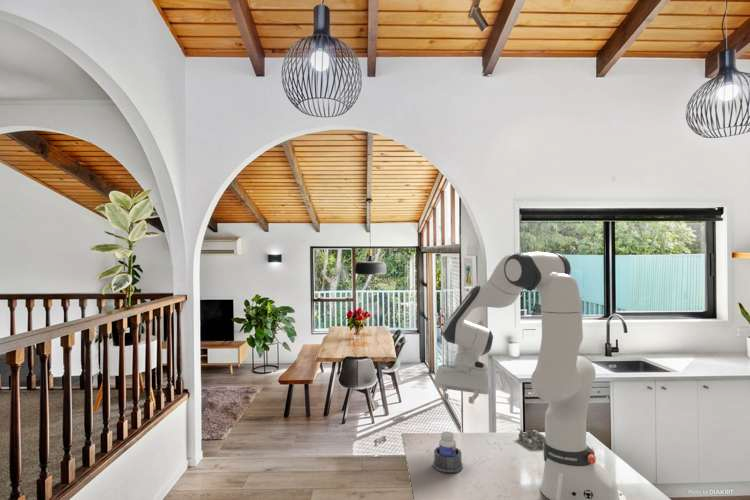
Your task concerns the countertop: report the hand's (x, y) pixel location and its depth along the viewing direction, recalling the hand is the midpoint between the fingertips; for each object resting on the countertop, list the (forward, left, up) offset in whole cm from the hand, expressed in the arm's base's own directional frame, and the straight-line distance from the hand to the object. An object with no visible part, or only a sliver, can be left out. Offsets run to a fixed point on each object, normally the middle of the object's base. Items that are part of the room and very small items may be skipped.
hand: (457, 400), depth 155 cm
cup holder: (0, +12, -18) cm, 22 cm away
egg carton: (-22, -20, -19) cm, 35 cm away
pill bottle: (0, +12, -17) cm, 21 cm away
